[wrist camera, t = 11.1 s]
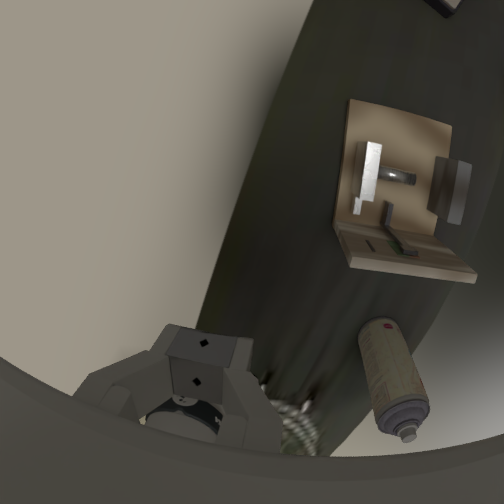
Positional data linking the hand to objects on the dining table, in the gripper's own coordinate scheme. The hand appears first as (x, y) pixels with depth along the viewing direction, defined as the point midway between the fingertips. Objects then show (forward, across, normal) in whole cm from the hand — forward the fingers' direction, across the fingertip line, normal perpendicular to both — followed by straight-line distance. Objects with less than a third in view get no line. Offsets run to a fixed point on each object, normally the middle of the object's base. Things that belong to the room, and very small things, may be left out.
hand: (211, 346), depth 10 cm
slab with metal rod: (+27, +13, +4) cm, 30 cm away
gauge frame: (+29, +15, +5) cm, 33 cm away
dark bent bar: (+27, +14, 0) cm, 30 cm away
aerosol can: (+29, +19, -19) cm, 40 cm away
